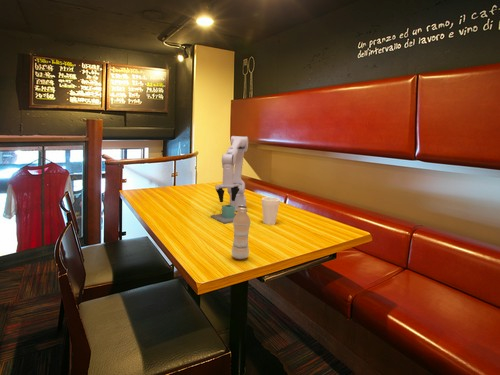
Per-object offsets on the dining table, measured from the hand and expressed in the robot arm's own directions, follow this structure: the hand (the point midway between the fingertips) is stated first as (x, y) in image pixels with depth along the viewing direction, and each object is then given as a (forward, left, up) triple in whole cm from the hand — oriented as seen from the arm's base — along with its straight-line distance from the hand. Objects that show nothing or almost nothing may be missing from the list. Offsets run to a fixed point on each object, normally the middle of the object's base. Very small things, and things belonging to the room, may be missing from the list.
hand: (227, 201), depth 173 cm
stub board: (0, +2, -9) cm, 9 cm away
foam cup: (-15, +19, -10) cm, 26 cm away
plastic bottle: (+25, +49, -10) cm, 56 cm away
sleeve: (0, +2, -8) cm, 8 cm away
